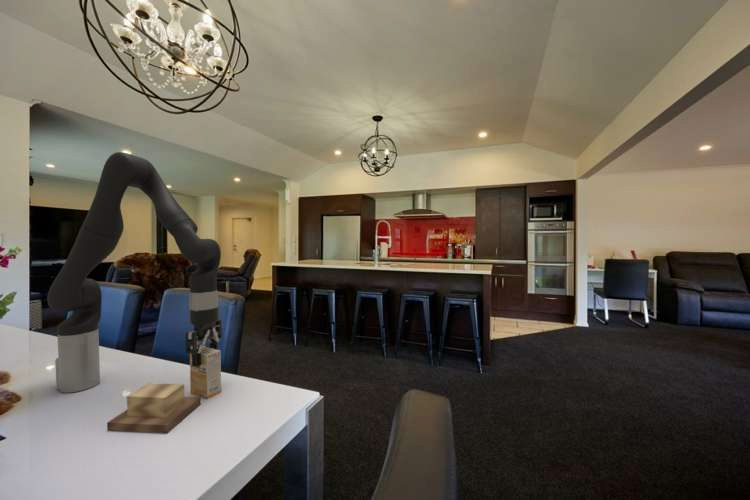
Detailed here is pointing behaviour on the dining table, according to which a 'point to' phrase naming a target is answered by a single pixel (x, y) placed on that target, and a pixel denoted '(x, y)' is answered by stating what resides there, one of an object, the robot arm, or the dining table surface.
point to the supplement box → (206, 373)
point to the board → (153, 419)
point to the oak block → (155, 400)
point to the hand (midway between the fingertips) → (205, 360)
